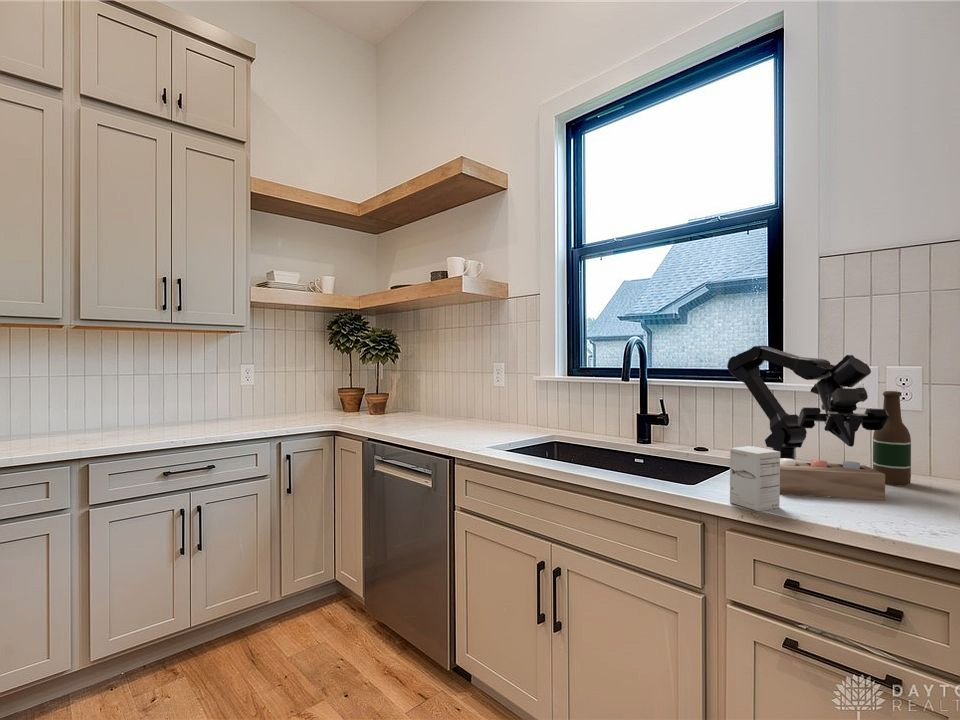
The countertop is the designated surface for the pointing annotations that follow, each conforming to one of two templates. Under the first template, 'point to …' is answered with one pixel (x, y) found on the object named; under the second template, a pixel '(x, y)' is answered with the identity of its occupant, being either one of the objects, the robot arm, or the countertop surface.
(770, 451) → the supplement box
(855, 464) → the grey rounded block
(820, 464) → the brick key
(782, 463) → the white key
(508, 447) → the countertop surface
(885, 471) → the beer bottle
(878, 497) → the wooden socket block
